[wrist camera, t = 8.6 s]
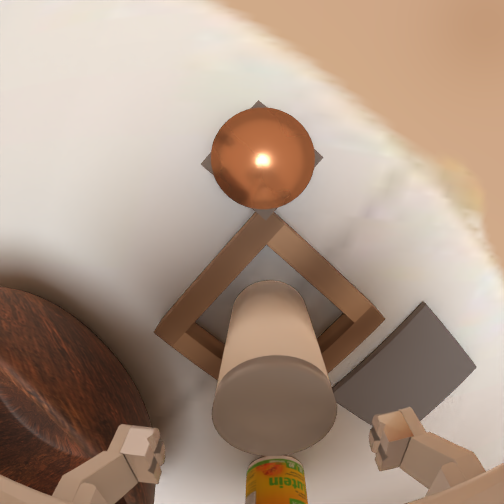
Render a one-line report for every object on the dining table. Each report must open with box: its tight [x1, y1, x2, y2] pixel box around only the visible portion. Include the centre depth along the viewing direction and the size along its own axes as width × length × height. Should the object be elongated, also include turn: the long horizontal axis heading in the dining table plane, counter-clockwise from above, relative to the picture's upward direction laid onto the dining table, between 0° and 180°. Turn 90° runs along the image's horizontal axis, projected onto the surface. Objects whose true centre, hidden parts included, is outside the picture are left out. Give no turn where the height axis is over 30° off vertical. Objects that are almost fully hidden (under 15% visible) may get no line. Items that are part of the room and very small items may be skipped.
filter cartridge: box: [212, 280, 337, 456], centre depth 16 cm, size 5×5×10 cm
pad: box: [332, 302, 476, 426], centre depth 22 cm, size 10×10×1 cm
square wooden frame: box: [154, 100, 385, 380], centre depth 19 cm, size 14×14×4 cm
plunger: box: [211, 108, 315, 209], centre depth 16 cm, size 4×4×5 cm
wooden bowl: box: [0, 287, 156, 504], centre depth 19 cm, size 25×25×10 cm
